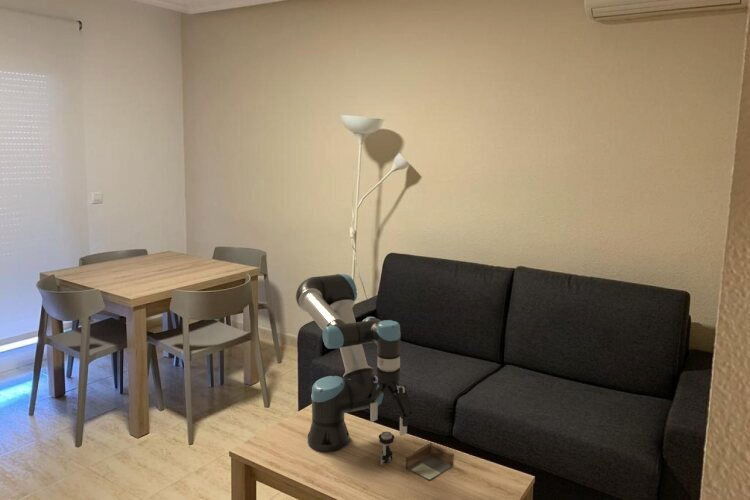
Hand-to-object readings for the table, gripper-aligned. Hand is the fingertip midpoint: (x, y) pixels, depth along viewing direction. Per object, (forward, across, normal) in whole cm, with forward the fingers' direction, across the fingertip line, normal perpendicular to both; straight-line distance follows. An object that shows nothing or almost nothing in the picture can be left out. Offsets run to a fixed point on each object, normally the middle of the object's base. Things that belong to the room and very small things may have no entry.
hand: (388, 427), depth 201 cm
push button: (+14, -1, 0) cm, 14 cm away
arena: (+13, +12, +9) cm, 20 cm away
